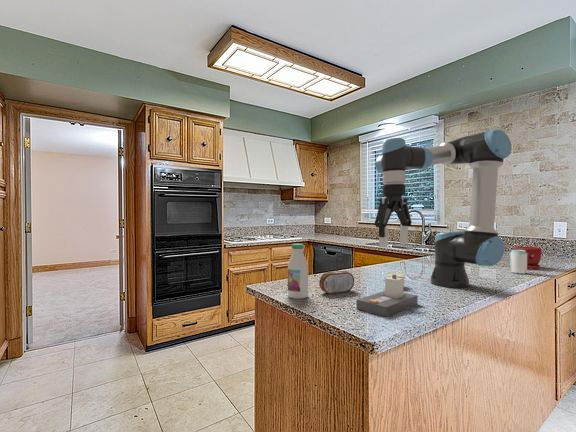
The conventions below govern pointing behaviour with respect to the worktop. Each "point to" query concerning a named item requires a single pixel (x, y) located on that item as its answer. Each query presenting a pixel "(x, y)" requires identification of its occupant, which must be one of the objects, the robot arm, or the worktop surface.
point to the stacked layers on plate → (397, 276)
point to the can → (518, 261)
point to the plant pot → (531, 261)
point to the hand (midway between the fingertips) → (394, 245)
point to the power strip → (386, 303)
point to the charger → (394, 287)
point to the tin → (336, 282)
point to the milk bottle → (297, 273)
